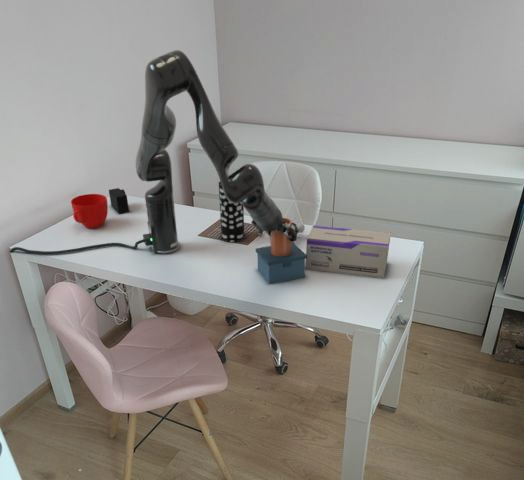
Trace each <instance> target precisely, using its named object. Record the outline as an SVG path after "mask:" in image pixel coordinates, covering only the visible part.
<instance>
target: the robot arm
mask: <svg viewBox="0 0 524 480" xmlns="http://www.w3.org/2000/svg"><path fill="white" fill-rule="evenodd" d="M184 92H186V93H187V94H188V96H189V97H190V99H191V101H192V103H193V108H194V113H195V127H196V134H197V139H198V141H199V144H200V146H201V147H202V149H203V151H204V152H205V154H206V155H207V157H208V158H209V159H210V160H209V161H211V163H212V165H213V166H214V168H215V171H216V172H217V175H218V177H219V178H218V179H219V182H221V185H222V188H223V191H224V194H225V196H226V198H227V199H228V200H229V201H230V202H232V203H235V204H238V203H241V202H242V205H243V207H244V210H246V212H247V213H248V214H249V216H250V217H251V219H252V221H251V224H252V225H253V226H254V228H256V229H257V231H258V232H259V231H262V232H263V231H264V233H265V234H267V235H268V236H269V238H271V231H275V232H278V233H279V234H281V235H282V236H287V237H288V238H289V240H290V241H291V242H293V243H295V242H296V241H295V239H296V240H297V237H296V236H297V235H298V234H299V233H298V231H299V230H298V228H297V226H296V224H295V223H296V222H292V223H291V225H289V224H287V223H286V222H285V221H284V220H283V218H284V217H283V214H282V211H281V210H280V208H279V207H278V206H277V204H276V203H275V202H274V200H273V199H272V198H271V197H270V196H269V195H268V193H267V191H266V189H265V182H264V178H263V174H262V172H261V171H260V169H259V168H258V167H257V166H256V165H255V164H253V163H246V164H243V165H242V166H241V167H239V168H238V169H236V170H235V171H233V172H232V173H231V174H230V173H229V170H230V167H231V166H232V164H234V162H236V160H237V159H238V157H239V150H238V149H237V147H236V145H235V144H234V142H233V140H232V139H231V138H230V136H229V135H228V133H227V131H226V130H225V128H224V127H223V125H222V123H221V122H220V120H219V118H218V116H217V114H216V112H215V110H214V107H213V106H212V103H211V101H210V99H209V97H208V94H207V92H206V89H205V88H204V86H203V84H202V81H201V79H200V77H199V75H198V73H197V71H196V69H195V67H194V65H193V62H191V60H190V59H189V57H188V56H187V54H186V53H184V52H183V51H182V50H179V49H175V50H174V49H173V50H172V51H169V52H167V53H165V54H162V55H160V56H157V57H155V58H153V59H152V60H150V61H149V62H148V63H147V64H146V66H145V72H144V98H145V99H144V110H143V115H142V123H141V133H140V141H139V145H138V149H137V151H136V156H135V171H136V175H137V177H138V178H139V180H140V181H141V182H146V183H149V182H150V183H151V182H157V183H156V185H154V186H153V187H151V188H149V189H148V190H147V191H145V193H144V201H145V208H146V215H147V230H148V233H144V234H143V233H142V238H143V239H139V240H138V241H136V242H135V243H134V246H131V245H128V244H125V243H122V242H108V243H107V242H106V243H101V244H95V245H88V246H83V247H78V248H69V249H63V250H54V251H53V250H51V251H48V250H46V251H45V250H31V249H27V248H23V247H19V246H14V247H12V248H11V249H10V250H9V253H13V252H15V251H21V252H24V253H28V254H37V255H59V254H66V253H73V252H80V251H85V250H92V249H96V248H103V247H112V246H114V247H115V246H118V247H123V248H127V249H129V250H130V249H131V250H136V249H138V247H139V245H140V244H142V243H144V245H145V246H146V247H149V246H150V249H151V251H152V252H153V254H171V253H174V252H177V251H178V250H179V249H180V245H179V237H178V229H177V228H178V227H177V218H176V210H175V200H174V185H173V169H172V161H171V160H172V159H171V157H170V154H169V152H168V151H167V150H166V149H167V148H168V147H169V146H170V145H171V143H172V142H173V140H174V137H175V133H176V128H177V119H176V116H175V114H174V112H173V110H172V109H171V108H170V107H169V106H168V105H167V103H168V101H169V100H170V99H172V98H174V97H175V96H178V95H180V94H183V93H184ZM282 231H283V232H282ZM287 232H289V233H287Z"/></svg>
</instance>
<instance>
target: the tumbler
mask: <svg viewBox="0 0 524 480" xmlns="http://www.w3.org/2000/svg"><path fill="white" fill-rule="evenodd" d="M282 218H283V220H284V221H285V222H286V223H287V224H289V225H291V223H293V221H292V220H291V219H290V218H287V217H282ZM282 232H283V231H282ZM287 233H289V232H287ZM270 246H271V254H273V255H275V256H287V255H289V254H290V253H291V241H290V240H289V238H288V237H287V236H282V235H281V234H279V233H278V232H275V231H271V237H270Z"/></svg>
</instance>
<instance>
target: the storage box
mask: <svg viewBox="0 0 524 480" xmlns="http://www.w3.org/2000/svg"><path fill="white" fill-rule="evenodd" d="M254 250H255V253H256V254H257V271H258V272H259V274H260V275H261V276H262V277H263V278H264V280H266V282H267V283H268V284H274V283H280V282H284V281H285V282H286V281H291V280H295V279H296V280H297V279H300V278H305V270H306V259H307V255H306V252H304V251H303V250H302V249H301V248H300V247H299V246H297V244H296V243H295V242H291V253H290V254H289V255H287V256H275V255H273V254H271V245H268V246H262V247H256V248H255V249H254Z"/></svg>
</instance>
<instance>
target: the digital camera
mask: <svg viewBox="0 0 524 480" xmlns="http://www.w3.org/2000/svg"><path fill="white" fill-rule="evenodd" d="M108 195H109V199H110V200H109V202H110V205H111V207H112V209H114V211H116V212H117V213H118V214H119V215H120V214H121V215H122V214H125V213H129V212H130V208H129V202H128V195H127V194H126V191H125V189H124V188H123V189H120V188H119V187H117V188H111V189H108Z"/></svg>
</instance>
